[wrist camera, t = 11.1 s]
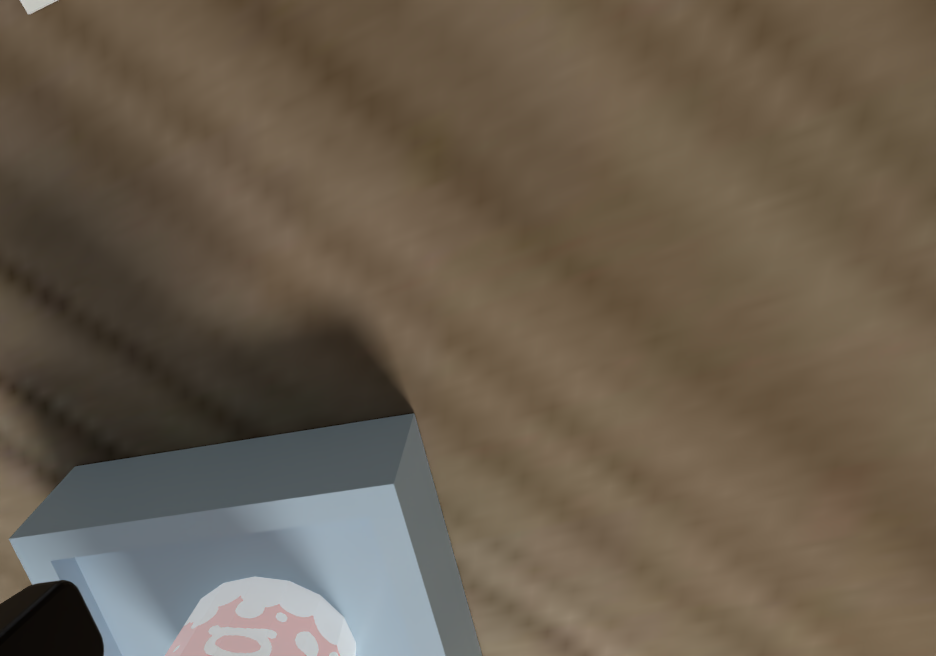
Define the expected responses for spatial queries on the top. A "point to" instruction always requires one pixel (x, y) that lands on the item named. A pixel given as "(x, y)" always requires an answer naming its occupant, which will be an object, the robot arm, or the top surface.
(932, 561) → the top surface
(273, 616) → the beverage cup
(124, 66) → the top surface
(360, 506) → the rectangular tray
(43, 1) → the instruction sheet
